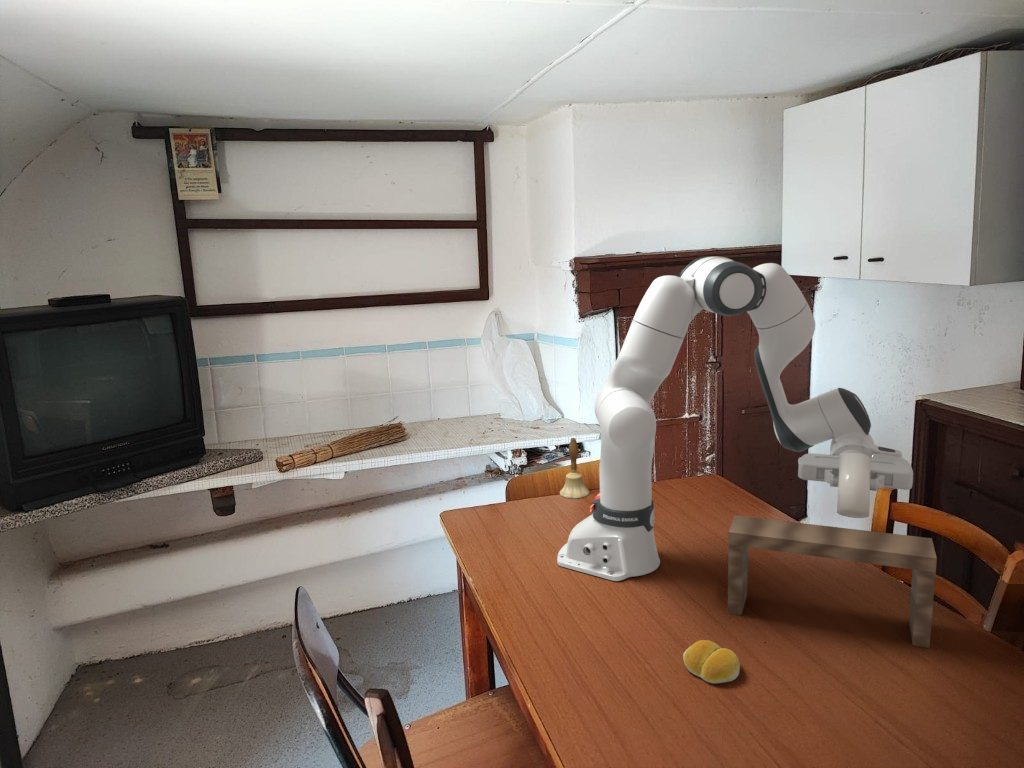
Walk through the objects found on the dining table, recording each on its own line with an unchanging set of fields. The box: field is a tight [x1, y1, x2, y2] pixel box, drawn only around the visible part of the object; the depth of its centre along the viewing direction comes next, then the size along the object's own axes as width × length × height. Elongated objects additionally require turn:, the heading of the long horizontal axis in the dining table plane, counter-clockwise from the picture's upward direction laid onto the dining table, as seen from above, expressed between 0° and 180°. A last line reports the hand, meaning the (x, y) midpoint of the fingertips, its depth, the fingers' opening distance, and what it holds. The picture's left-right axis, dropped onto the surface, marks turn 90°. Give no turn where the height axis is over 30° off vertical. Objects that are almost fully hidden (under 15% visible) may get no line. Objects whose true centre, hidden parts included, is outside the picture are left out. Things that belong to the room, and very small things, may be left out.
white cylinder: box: [836, 453, 871, 519], centre depth 132 cm, size 5×5×11 cm
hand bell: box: [559, 437, 590, 499], centre depth 195 cm, size 8×8×16 cm
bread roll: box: [682, 639, 741, 684], centre depth 117 cm, size 8×9×4 cm
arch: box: [727, 515, 938, 649], centre depth 128 cm, size 33×8×16 cm, turn 65°
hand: (854, 485), depth 132 cm, fingers closed on white cylinder, 5 cm apart
